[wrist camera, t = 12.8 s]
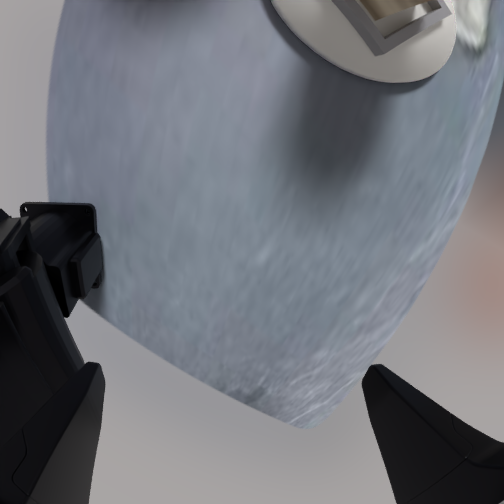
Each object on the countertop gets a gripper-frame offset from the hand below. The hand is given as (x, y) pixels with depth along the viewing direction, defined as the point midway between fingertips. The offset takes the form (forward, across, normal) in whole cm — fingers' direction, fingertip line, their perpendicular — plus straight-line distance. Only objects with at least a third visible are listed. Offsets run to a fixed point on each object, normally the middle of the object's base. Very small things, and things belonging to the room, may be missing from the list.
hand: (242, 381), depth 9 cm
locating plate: (+13, -8, -20) cm, 25 cm away
